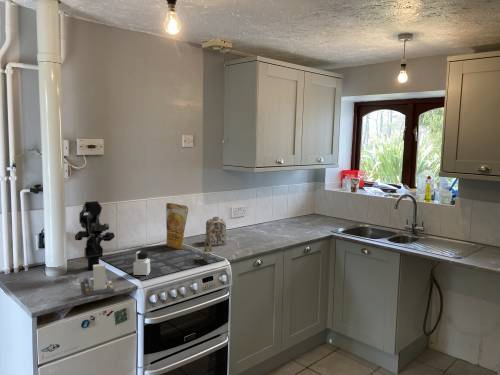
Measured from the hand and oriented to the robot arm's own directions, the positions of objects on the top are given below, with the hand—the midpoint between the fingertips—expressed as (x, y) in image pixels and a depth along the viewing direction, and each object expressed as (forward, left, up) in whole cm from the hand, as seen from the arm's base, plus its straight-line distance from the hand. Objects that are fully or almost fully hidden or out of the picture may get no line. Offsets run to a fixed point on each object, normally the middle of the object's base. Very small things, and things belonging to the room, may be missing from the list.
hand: (96, 251), depth 205 cm
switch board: (+13, -7, -13) cm, 20 cm away
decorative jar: (-3, +89, -13) cm, 90 cm away
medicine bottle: (+13, +18, -13) cm, 26 cm away
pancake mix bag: (-16, +64, -13) cm, 68 cm away
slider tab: (+19, -10, -11) cm, 24 cm away
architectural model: (+20, +58, -14) cm, 63 cm away
